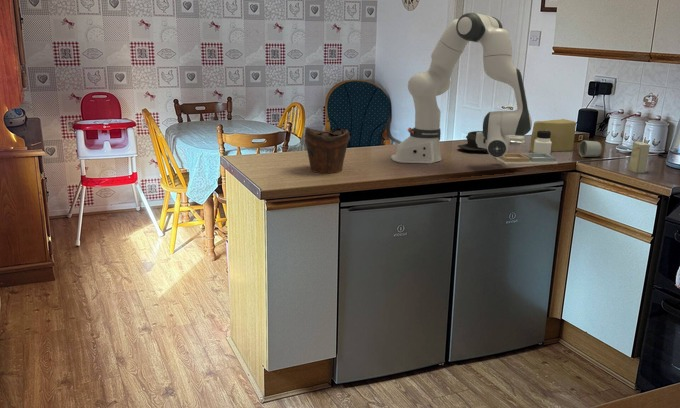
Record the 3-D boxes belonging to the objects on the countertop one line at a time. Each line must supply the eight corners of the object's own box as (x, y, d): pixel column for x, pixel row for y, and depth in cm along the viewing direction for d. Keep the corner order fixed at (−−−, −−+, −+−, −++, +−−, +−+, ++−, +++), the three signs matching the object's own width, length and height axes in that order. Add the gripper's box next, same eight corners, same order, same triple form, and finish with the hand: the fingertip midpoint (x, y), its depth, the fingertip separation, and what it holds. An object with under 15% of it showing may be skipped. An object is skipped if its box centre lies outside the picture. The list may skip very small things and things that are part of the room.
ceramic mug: (602, 158, 285) (604, 141, 283) (585, 158, 284) (587, 142, 282) (590, 153, 296) (592, 138, 294) (574, 154, 294) (575, 138, 292)
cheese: (537, 154, 292) (540, 123, 288) (524, 150, 301) (527, 120, 297) (573, 151, 301) (577, 120, 296) (559, 147, 309) (563, 118, 305)
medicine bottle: (550, 157, 285) (553, 132, 281) (534, 157, 286) (537, 131, 283) (548, 154, 291) (551, 129, 288) (533, 154, 293) (535, 129, 289)
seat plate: (505, 164, 270) (505, 158, 269) (495, 158, 282) (495, 153, 281) (557, 163, 272) (558, 158, 271) (545, 157, 284) (546, 152, 284)
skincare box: (628, 169, 263) (632, 141, 259) (638, 169, 263) (642, 141, 259) (636, 173, 256) (640, 144, 253) (646, 173, 257) (650, 144, 253)
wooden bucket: (359, 169, 256) (359, 126, 251) (324, 177, 242) (324, 132, 238) (330, 163, 268) (330, 122, 263) (295, 170, 255) (294, 127, 250)
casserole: (469, 155, 287) (471, 137, 285) (450, 148, 304) (451, 131, 302) (515, 152, 295) (517, 135, 293) (494, 145, 312) (495, 129, 310)
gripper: (525, 136, 251) (526, 130, 263) (475, 132, 256) (477, 127, 269) (524, 151, 252) (524, 145, 265) (473, 146, 258) (476, 141, 271)
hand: (500, 136), depth 267 cm, fingers closed on sleeve, 5 cm apart
